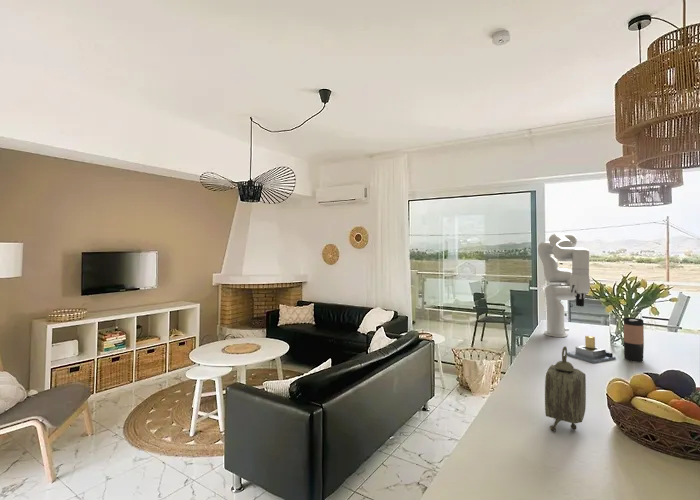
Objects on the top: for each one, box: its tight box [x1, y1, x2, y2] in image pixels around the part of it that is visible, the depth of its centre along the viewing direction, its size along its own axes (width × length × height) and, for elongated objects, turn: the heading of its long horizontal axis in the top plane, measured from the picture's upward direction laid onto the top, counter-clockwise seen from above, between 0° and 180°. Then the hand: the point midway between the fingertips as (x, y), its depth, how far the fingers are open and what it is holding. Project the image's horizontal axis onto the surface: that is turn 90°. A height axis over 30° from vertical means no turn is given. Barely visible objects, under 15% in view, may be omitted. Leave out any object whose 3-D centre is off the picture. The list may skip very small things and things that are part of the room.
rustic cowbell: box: [544, 346, 587, 432], centre depth 108 cm, size 14×9×25 cm, turn 141°
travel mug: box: [623, 317, 645, 363], centre depth 171 cm, size 8×8×20 cm
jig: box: [567, 344, 617, 364], centre depth 176 cm, size 16×14×4 cm
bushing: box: [584, 335, 596, 350], centre depth 176 cm, size 4×4×9 cm
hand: (579, 305), depth 186 cm, fingers closed
